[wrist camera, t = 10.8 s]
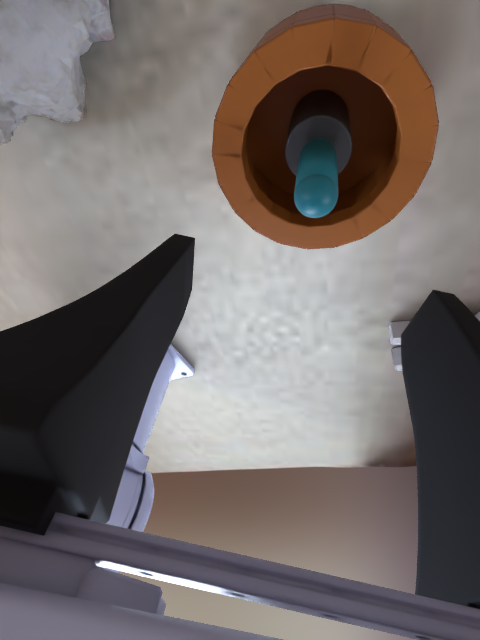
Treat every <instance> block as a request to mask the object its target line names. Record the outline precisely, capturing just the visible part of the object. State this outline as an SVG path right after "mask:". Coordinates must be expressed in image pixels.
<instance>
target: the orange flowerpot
mask: <svg viewBox="0 0 480 640" xmlns="http://www.w3.org/2000/svg"><path fill="white" fill-rule="evenodd" d="M317 90H329V91H332V92H334V93H336V94H337V95H339V96H340V97H341V98H342V99H343V101H344V102H345V104H346V106H347V109H348V114H349V122H350V129H351V137H352V153H351V157H350V159H349V162H348V163H347V165H346V167H345V168H344V169H343V170H342V171H341V172H340V173H339V174H338V200H337V203H336V205H335V207H334V208H333V210H332V211H331V212H330V213H328V214H327V215H325V216H323V217H319V218H310V217H307V216H305V215H303V214H302V213H301V212H300V211H299V210H298V209H297V207H296V205H295V202H294V191H295V183H296V175H294V174H293V172H292V171H291V170H290V168H289V167H288V165H287V162H286V158H285V145H286V140H287V135H288V131H289V126H290V121H291V117H292V113H293V111H294V108H295V107H296V105H297V104H298V102H299V101H300V100H301V99H302V98H303V97H304V96H306V95H307V94H309V93H311V92H313V91H317ZM438 123H439V120H438V114H437V108H436V102H435V95H434V89H433V86H432V84H431V81H430V79H429V77H428V76H427V74H426V72H425V71H424V69H423V67H422V66H421V64H420V62H419V61H418V59H417V57H416V56H415V54H414V52H413V51H412V50H411V49H410V47H409V46H408V45H407V44H406V43H405V41H404V40H403V39H402V38H401V37H400V36H399V35H398V33H397V32H396V31H395V30H394V29H393V28H392V27H390V26H389V25H388V24H386V23H385V22H383V21H382V20H381V19H380V18H378V17H377V16H375V15H373V14H372V13H370V12H369V11H366V10H365V9H359V8H356V7H353V6H347V5H340V4H328V5H321V6H316V7H311V8H308V9H305V10H302V11H299V12H296V13H295V14H293V15H292V16H290V17H288V18H286V19H285V20H283V21H282V22H280V23H279V24H278V25H277V26H275V27H273V28H272V29H270V30H269V32H267V33H266V34H265V36H264V37H263V38H262V39H261V41H260V42H259V43H258V44H257V46H256V47H255V48H254V49H253V51H252V52H251V53H250V54H249V56H248V57H247V58H246V60H245V61H244V62H243V64H242V65H241V66H240V68H239V69H238V70H237V72H236V73H235V74H234V76H233V77H232V78H231V80H230V81H229V83H228V85H227V87H226V90H225V92H224V95H223V98H222V100H221V103H220V105H219V108H218V111H217V113H216V116H215V120H214V130H213V145H212V157H213V161H214V166H215V170H216V174H217V179H218V183H219V185H220V188H221V189H222V191H223V193H224V195H225V196H226V198H227V200H228V202H229V203H230V205H231V207H232V209H233V210H234V211H235V213H236V214H237V215H238V216H239V217H240V218H241V219H243V220H244V221H245V222H246V223H247V224H248V225H249V226H250V227H251V228H252V229H253V230H255V231H256V232H258V233H260V234H262V235H263V236H265V237H267V238H269V239H271V240H273V241H275V242H277V243H280V244H284V245H288V246H293V247H298V248H303V249H306V248H307V249H320V248H334V247H338V246H341V245H344V244H347V243H350V242H353V241H356V240H359V239H363V238H364V237H366V236H368V235H369V234H371V233H373V232H374V231H376V230H377V229H379V228H380V227H382V226H384V225H385V224H387V223H388V222H390V221H391V220H392V219H393V218H394V217H395V216H396V215H397V214H398V213H399V212H400V211H401V210H402V209H403V208H404V207H405V205H406V204H407V203H408V202H409V201H410V200H411V199H412V198H413V197H414V194H416V192H417V190H418V189H419V187H420V185H421V183H422V181H423V179H424V177H425V175H426V173H427V171H428V169H429V167H430V165H431V162H432V160H433V154H434V149H435V143H436V138H437V132H438Z"/></svg>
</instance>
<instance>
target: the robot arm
mask: <svg viewBox="0 0 480 640" xmlns="http://www.w3.org/2000/svg"><path fill="white" fill-rule="evenodd" d="M194 246H195V238H192V237H188V236H183V235H179V234H174V235H172V236H171V237H170V238H168V239H167V240H166V241H165V242H163V243H162V244H161V245H160V246H158V247H157V248H156V249H155V250H153V251H152V252H151V253H149V254H148V255H147V256H146V257H144V258H143V259H141V260H140V261H139V262H137V263H136V264H135V265H133V266H132V267H131V268H129V269H128V270H126V271H125V272H123V273H122V274H120V275H119V276H117V277H116V278H114V279H113V280H111V281H110V282H108V283H106V284H105V285H103V286H102V287H100V288H98V289H97V290H95V291H93V292H91V293H90V294H88V295H86V296H84V297H82V298H80V299H78V300H76V301H74V302H72V303H70V304H68V305H66V306H63V307H61V308H59V309H56V310H54V311H52V312H50V313H47V314H45V315H43V316H40V317H38V318H36V319H33V320H31V321H28V322H25V323H23V324H20V325H17V326H15V327H12V328H9V329H6V330H3V331H0V640H282V639H277V638H272V637H268V636H263V635H257V634H253V633H248V632H244V631H238V630H234V629H228V628H223V627H219V626H214V625H208V624H204V623H198V622H194V621H188V620H184V619H179V618H174V617H169V616H164V611H165V607H166V603H165V601H164V600H163V599H162V598H161V595H162V590H161V588H160V587H158V586H155V585H152V584H149V583H146V582H143V581H140V580H137V579H134V578H131V577H128V576H125V575H122V574H119V573H120V571H123V572H127V573H132V574H136V575H140V576H145V577H149V578H153V579H157V580H162V581H166V582H170V583H175V584H179V585H184V586H188V587H192V588H197V589H201V590H205V591H209V592H214V593H218V594H222V595H227V596H231V597H235V598H240V599H244V600H248V601H253V602H257V603H261V604H266V605H270V606H275V607H279V608H283V609H287V610H292V611H296V612H300V613H305V614H309V615H313V616H318V617H322V618H327V619H331V620H335V621H339V622H344V623H348V624H352V625H357V626H361V627H366V628H370V629H374V630H379V631H383V632H387V633H391V634H396V635H400V636H404V637H409V638H413V639H418V640H480V321H479V320H478V319H477V318H476V317H475V316H474V314H473V313H472V312H471V311H470V310H469V309H468V308H467V307H466V306H465V305H464V304H463V303H462V302H461V301H460V300H459V299H458V298H457V297H456V296H455V295H454V294H450V293H445V292H441V291H436V290H433V291H432V292H431V293H430V295H429V296H428V298H427V299H426V300H425V302H424V303H423V305H422V306H421V307H420V309H419V310H418V312H417V313H416V314H415V316H414V317H413V319H412V320H411V321H410V323H409V324H408V326H407V327H406V328H405V330H404V331H403V333H402V334H401V364H402V371H403V376H404V382H405V388H406V393H407V399H408V404H409V409H410V415H411V420H412V425H413V431H414V438H415V448H416V463H417V481H418V556H417V578H416V591H415V595H414V594H411V593H406V592H402V591H397V590H393V589H389V588H384V587H380V586H376V585H371V584H367V583H362V582H358V581H354V580H349V579H345V578H340V577H336V576H331V575H327V574H323V573H319V572H315V571H310V570H306V569H301V568H297V567H292V566H288V565H284V564H280V563H275V562H271V561H266V560H262V559H258V558H253V557H249V556H245V555H240V554H236V553H231V552H227V551H222V550H218V549H214V548H210V547H205V546H201V545H197V544H192V543H188V542H183V541H179V540H175V539H170V538H166V537H161V536H157V535H153V534H149V533H144V532H143V530H144V528H145V526H146V523H147V521H148V518H149V515H150V512H151V508H152V504H153V499H154V485H153V479H152V475H151V473H150V472H149V471H146V470H145V469H146V466H147V463H148V460H149V457H148V456H146V455H144V454H143V452H144V450H145V447H146V444H147V441H148V439H149V436H150V433H151V430H152V428H153V425H154V422H155V420H156V417H157V414H158V411H159V409H160V406H161V403H162V400H163V398H164V395H165V392H166V390H167V387H168V384H169V381H170V380H173V379H178V378H183V377H188V376H192V375H194V373H195V370H194V368H193V367H192V366H191V365H190V364H189V363H188V362H187V361H186V360H185V359H184V357H183V356H182V355H181V354H180V353H179V352H178V351H177V350H176V349H175V348H174V347H173V346H172V344H171V342H172V340H173V338H174V335H175V333H176V331H177V329H178V327H179V325H180V322H181V320H182V318H183V316H184V313H185V310H186V307H187V304H188V300H189V297H190V294H191V291H192V280H193V263H194Z"/></svg>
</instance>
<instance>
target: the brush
mask: <svg viewBox="0 0 480 640" xmlns="http://www.w3.org/2000/svg"><path fill="white" fill-rule="evenodd" d="M351 153H352V137H351V129H350V122H349V114H348V109H347V106H346V104H345V102H344V101H343V99H342V98H341V97H340V96H339V95H337V94H336V93H334V92H332V91H329V90H317V91H313V92H311V93H309V94H307V95H306V96H304V97H303V98H302V99H301V100H300V101H299V102H298V104H297V105H296V107H295V108H294V111H293V113H292V117H291V121H290V126H289V131H288V135H287V140H286V145H285V158H286V162H287V165H288V167H289V168H290V170H291V171H292V172H293V174H294V175H296V183H295V191H294V202H295V205H296V207H297V209H298V210H299V211H300V212H301V213H302V214H303V215H305V216H307V217H310V218H319V217H323V216H325V215H327V214H328V213H330V212H331V211H332V210H333V208H334V207H335V205H336V203H337V200H338V174H339V173H340V172H341V171H342V170H343V169H344V168H345V167H346V165H347V163H348V162H349V159H350V157H351Z"/></svg>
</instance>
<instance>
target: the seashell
mask: <svg viewBox="0 0 480 640" xmlns="http://www.w3.org/2000/svg"><path fill="white" fill-rule="evenodd" d="M113 38H115V35H114V31H113V28H112V21H111V19H110V8H109V0H0V144H6V143H8V142H10V141H11V137H12V136H13V130H14V129H16V128H17V127H18V125H19V124H20V123H23V122H26V119H27V117H28V116H29V115H35V116H40V117H49V118H50V119H51V120H55V121H59V122H64V123H69V121H74V122H78V121H80V120H82V119H84V118H85V116H86V98H85V95H84V91H85V87H86V84H87V83H86V80H85V77H84V74H83V70H82V67H81V64H80V56H81V55H83V54H84V53H86V52H87V51H88V50H89V49H90V47H91V45H92V43H93V42H97V41H109V40H111V39H113Z"/></svg>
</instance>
